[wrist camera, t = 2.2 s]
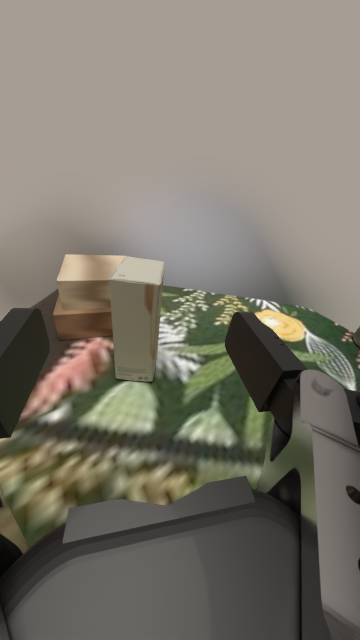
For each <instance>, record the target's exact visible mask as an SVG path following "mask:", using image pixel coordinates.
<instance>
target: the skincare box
mask: <svg viewBox="0 0 360 640" xmlns="http://www.w3.org/2000/svg"><path fill="white" fill-rule="evenodd" d="M163 276H164V262H162V261H155V260H147V259H140V258H132V257H125V258H124V259H123V260H122V262H121V263H120V264H119V265H118V267H117V268H116V270H115V271H114V273H113V274H112V276H111V277H110V278H109V284H110V300H111V315H112V329H113V343H114V358H115V373H116V379H124V380H133V381H148V382H152V381H153V377H154V372H155V366H156V358H157V348H158V336H159V323H160V311H161V299H162V288H163Z"/></svg>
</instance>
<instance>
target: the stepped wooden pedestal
mask: <svg viewBox="0 0 360 640" xmlns="http://www.w3.org/2000/svg"><path fill="white" fill-rule="evenodd" d="M125 257H129V256H111V255H110V256H109V255H67V254H66V255H65V259H64V261H63V264H62V267H61V270H60V273H59V275H58V278H57V285H58V289H59V296H58V300H57V303H56V306H55V310H54V313H53V318H54V321H55V325H56V329H57V333H58V336H59V340H69V339H80V338H91V337H102V336H113V329H112V315H111V300H110V284H109V278H110V277H111V276H112V274H113V273H114V271H115V270H116V268H117V267H118V265H119V264H120V263H121V262H122V260H123V259H124V258H125Z"/></svg>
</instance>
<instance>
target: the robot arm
mask: <svg viewBox="0 0 360 640" xmlns="http://www.w3.org/2000/svg"><path fill="white" fill-rule="evenodd" d="M353 340H354V342H355V343H356V344H357V345H358V346H359V347H360V327H359V328H358V329H357V331H356V332H355V333H354V335H353ZM225 347H226V351H227V353H228V355H229V356H230V358H231V360H232V362H233V364H234V366H235V368H236V370H237V372H238V374H239V375H240V377H241V379H242V381H243V383H244V385H245V387H246V389H247V391H248V392H249V394H250V396H251V398H252V400H253V402H254V404H255V406H256V408H257V410H258V411H259V412H265V411H271V413H272V414H273V416H272V418H271V419H270V425H269V433H268V440H267V448H266V456H265V463H264V468H263V471H262V474H261V476H260V478H259V481H258V484H257V488H256V490H255V489H252V488H250V485H249V482H248V480H247V477H246V476H243V477H237V478H232V479H226V480H221V481H216V482H210V483H207V484H206V485H204V486H202V487H200V488H199V489H197V490H195V491H193V492H192V493H190V494H188V495H186V496H184V497H183V498H181V499H179V500H177V501H176V502H174V503H172V504H170V505H157V504H150V503H143V502H136V501H129V500H122V499H117V500H111V501H106V502H100V503H95V504H89V505H84V506H78V507H73V508H69V511H68V516H67V522H66V523H64V524H63V525H61V526H59V527H57V528H56V529H54V530H53V531H51V532H50V533H48V534H47V535H45V536H44V537H43V538H41V539H40V540H39V541H38V542H36V543H35V544H34V545H33V546H31V547H30V548H29V549H28V548H27V545H26V543H25V540H24V537H23V535H22V533H21V531H20V529H19V527H18V525H17V523H16V521H15V520H14V518H13V516H12V514H11V512H10V510H9V508H8V505H7V502H6V499H5V496H4V494H3V491H2V488H1V485H0V640H360V392H356V391H352V390H347V389H343V388H342V387H341V386H340V385H339V383H337V382H336V381H335V380H334V379H332V378H331V377H329V376H328V375H326V374H324V373H322V372H319V371H315V370H308V369H307V368H306V367H305V366H304V365H303V364H302V363H301V361H300V360H299V359H298V358H297V357H296V356H295V355H294V354H293V352H292V351H291V350H290V349H289V348H288V347H287V346H285V343H284V342H283V341H282V340H281V339H279V337H278V336H277V334H276V333H275V332H274V331H273V330H272V329H271V328H269V327H268V326H266V325H265V324H263V323H262V322H261V321H260V320H259V319H258V318H257V317H256V315H255V314H254V313H252V312H236V313H234V315H233V317H232V320H231V323H230V326H229V329H228V332H227V335H226V339H225ZM48 353H49V338H48V335H47V331H46V327H45V324H44V320H43V317H42V313H41V311H40V310H39V309H38V308H13V309H11V310H10V312H9V313H8V314H7V315H6V316H5V317H4V318H3V320H2V321H0V438H9V437H11V435H12V433H13V431H14V428H15V426H16V424H17V422H18V420H19V417H20V415H21V413H22V411H23V409H24V407H25V404H26V402H27V400H28V398H29V396H30V393H31V391H32V389H33V387H34V385H35V383H36V380H37V378H38V376H39V374H40V372H41V369H42V367H43V365H44V363H45V361H46V359H47V356H48Z"/></svg>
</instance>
